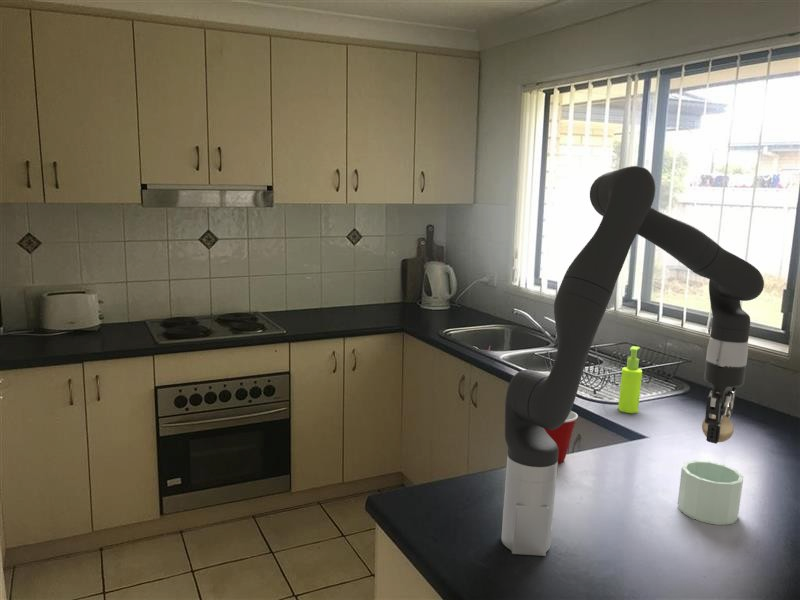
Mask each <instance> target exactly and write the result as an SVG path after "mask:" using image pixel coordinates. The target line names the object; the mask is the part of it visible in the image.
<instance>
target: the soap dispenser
mask: <svg viewBox="0 0 800 600" xmlns="http://www.w3.org/2000/svg"><path fill="white" fill-rule="evenodd" d="M640 349H641V347H640V346H635V345H633V346H631V347H630V349H629V351H630V356H629V357H627V358H626V359H627V362H626V366H624V367H622V369H621V377H620V379H621V380H620V389H619V396H618V397H619V398H618V408H617V409H618V410H619V411H620V412H622V413H626V414H637V413H639V408H640V407H639V406H640V396H641V389H642V388H641V386H642V379H643V369H641V368H639V363H640V359H639V358H638V357H637V356H638V354H637V353H638V351H639V350H640Z"/></svg>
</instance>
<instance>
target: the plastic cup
mask: <svg viewBox="0 0 800 600" xmlns="http://www.w3.org/2000/svg"><path fill="white" fill-rule="evenodd" d="M578 418H579V414H577V413H576V412H574V411H572V410H571V411H570V414H569V416H568V417H567V419H566V420H565V422H564V423H563V424H562V425H561V426H560V427H559V428H557V429H554V430H548V429H545V428H544V429H545V431H546V432H547V434H548V435H549V436H550V437H551V438H552V439H553V440H554V441H555V442H556V444H557V446H558V463H557V464H561V463H564V461H565V459H566V457H567V454H568V453H567V452H568V450H569V447H570V442H571V439H572V434H573V432H574V428H575V425H576V421H577V419H578Z"/></svg>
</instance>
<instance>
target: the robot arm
mask: <svg viewBox="0 0 800 600" xmlns="http://www.w3.org/2000/svg"><path fill="white" fill-rule="evenodd" d="M655 195H656V182H655V179H654V177H653V174H652V173H651V171H649V169H647V168H646V167H643V166H640V165H631V166H629V165H628V166H625V167H621V168H617V169H614V170H612V171H609V172H606V173H604V174H602V175H600V176H598V177H597V178H596V179H595V180H594V181H593V183H592V184H591V186H590V188H589V200H590V203H591V205H592V207H593V208H594V210H595V211H596V212H597V213H598V214H599V215H600V216H602V219H601V221H600V223H599V226H598V227H597V229H596V230H595V232H594V233H593V234H594V235H592V236H591V238H590V240H589V241H588V242H586V244H585V246H583V248H582V249H581V251H580V252H579V253H578V254H577V255H576V256H575V258H574V259H573V261H572V262H571V264H570V265H569V266H568V268H567V270H566V272H565V273H564V275H563V278H562V280H561V283H560V285H559V288H558V290H557V292H556V295H555V299H554V304H553V314H554V321H555V330H556V336H557V348H556V349H557V350H556V355H555V358H554V361H553V364H552V367H551V370H550V373H549V374H548V375H547V374H545V373H542V372H539V371H536V370H532V369H523V370H519V371H518V372H517V373H515V375H513V377H511V380H510V381H509V383H508V385H507V389H506V395H505V401H504V402H505V403H504V407H505V408H504V441H505V443H506V447H507V454H506V455H507V456H506V457H507V459H506V468H505V469H506V470H505V471H506V472H505V484H504V497H503V499H504V500H503V509H502V510H503V512H502V527H501V536H500V537H501V538H500V540H501V543H502V545H504V547H506V548H507V549H509V550H510V551H511V554H512V555H525V556H540V557H541V556H542V557H546V556H547V552H548V551H549V550H550V548H551V545H552V544H551V543H552V531H553V520H554V509H555V508H554V506H555V496H556V484H557V474H558V471H557V470H558V464H559V463H558V446H557V444H556V442H555V441H554V440H553V439H552V438H551V437H550V436H549V435H548V434H547V432H546V431H545V429H548V430H554V429H557V428H559V427H560V426H561V425H562V424H563V423H564V422H565V420H566V419H567V417H568V416H569V414H570V411H572V409H573V407H574V404H575V400H576V397H577V394H578V390H579V387H580V383H581V379H582V377H583V373H584V369H585V365H586V362H587V358H588V356H589V354H590V350H591V348H592V345H593V343H594V339H595V337H596V335H597V332H598V329H599V326H600V324H601V322H602V320H603V317H604V316H605V313H606V310H607V308H608V305H609V303H610V300H611V297H612V295H613V292H614V289H615V287H616V284H617V281H618V278H619V276H620V274H621V271H622V268H623V266H624V264H625V262H626V259H627V257H628V255H629V254H628V253H629V252H630V249H631V247H632V244H633V242H634V240H635V238H636V236H637V235H638V236H640V237H641V238H644V239H645V240H647V241H648V242H650V243H652V244H653V245H655V246H656V247H658V248H659V249H661V250H663V251H665V252H666V253H667V254H669V255H670V256H671V257H673V258H674V259H675V260H677V261H678V262H679V263H681V264H682V265H683V266H685V267H686V268H687V269H688V270H690V271H691V272H693V273H694V274H696V275H698V276H700V277H703V278H705V279H708V281H709V282H708V292H709V302H710V309H711V313H712V314H711V315H712V320H711V328H710V336H709V341H708V344H707V350H706V358H705V364H704V365H705V367H704V374H703V379H704V381H705V382H707V383H709V384H712V386H713V388H712V390H710V391H709V394H708V395H707V397H706V406H705V417H704V419H705V423H707V424H708V430H707V437H706V438H705V439H706V441H707V442H708V443H713V444H718V443H719V442H718V441H719V434H720V427H721V424H722V423H721V422H722V418H723V416H727V417H728V418H729V419H730V417H731V414H732V413H733V412H734V404H735V399H736V398H735V397H736V391H737V389H738V388H740V387H742V386H743V385H744V383H745V378H746V369H747V362H748V356H749V346H748V344H749V337H750V328H751V316H750V315H749V314H748V313H747V312H746V311H744V309H742V306H741V301H743V302H748V301H752V300H755V299H757V298H758V297H759V296H760V295H761V293H762V292H763V290H764V288H765V282H764V281H765V279H764V278H763V277H764V276H763V275H762V272H760V270H759V269H757V268H756V267H755V266H754V265H753V264H751V263H750V262H748V261H746V260H745V259H742V258H741V257H739V256H737V255H735V254H734V253H731V252H730V251H728V250H726V249H724V248H723V247H722V246H721V245H719V244H718V242H716V241H714V239H713V238H711V237H710V236H708V235H707V234H706V233H704V232H702V231H701V230H700V229H699V228H697V227H695V226H694V225H690V223H689V224H688V223H687V222H684V221H682V220H679V219H677V218H674V217H672V216H670V215H667V214H665V213H663V212H661V211H659V210H657V209H656V208H654V207H652V206H653V203H654V200H655V197H656V196H655ZM712 415H716V419H712ZM544 428H545V429H544Z"/></svg>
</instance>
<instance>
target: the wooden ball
mask: <svg viewBox="0 0 800 600" xmlns="http://www.w3.org/2000/svg"><path fill="white" fill-rule="evenodd" d="M712 419H716V415H712ZM721 423H722V424H721V427H720V434H719V441H718V443H724V442H727V441H729V439H731V437H732V436H733V434H734V424H733V422H732V420H731V419H730V417H729V418H728V417H727V416H723V418H722V422H721ZM701 428H702V429H701V430H702V433H703V435H704V436H705V437H706V438H707V430H708V424H707V423H705V418H704V419H703V420H702V424H701Z"/></svg>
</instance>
